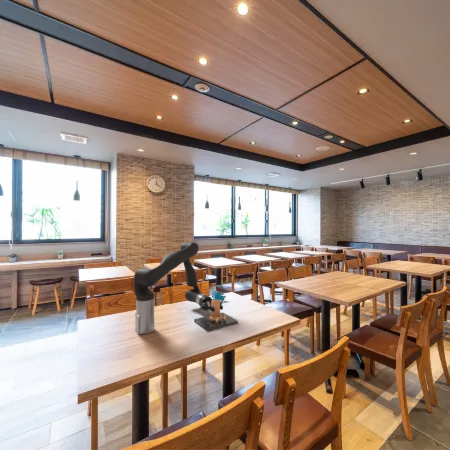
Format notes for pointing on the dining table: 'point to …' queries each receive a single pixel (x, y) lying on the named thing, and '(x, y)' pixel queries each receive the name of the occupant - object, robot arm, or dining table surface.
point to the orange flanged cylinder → (217, 310)
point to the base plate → (215, 322)
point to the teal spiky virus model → (218, 296)
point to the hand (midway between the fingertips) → (218, 309)
